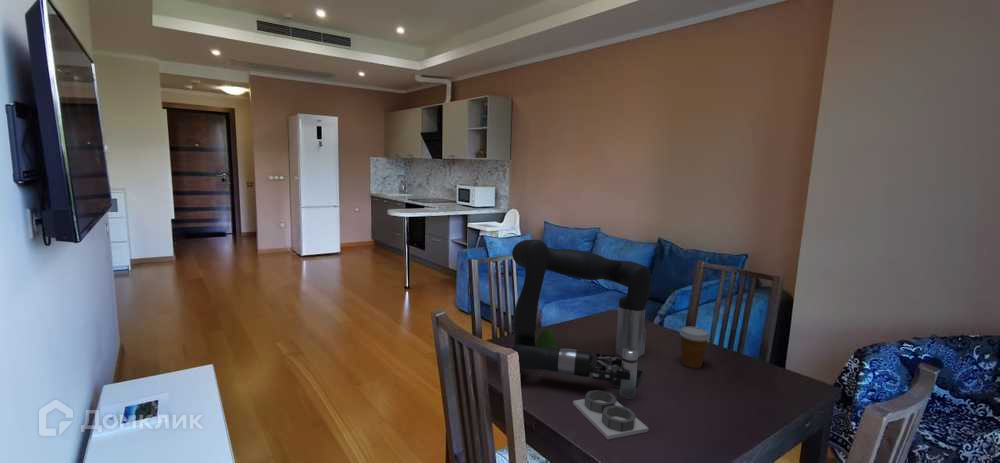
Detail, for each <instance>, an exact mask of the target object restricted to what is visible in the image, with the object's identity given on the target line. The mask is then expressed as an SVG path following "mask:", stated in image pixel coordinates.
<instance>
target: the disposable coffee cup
mask: <svg viewBox="0 0 1000 463" xmlns="http://www.w3.org/2000/svg"><path fill="white" fill-rule="evenodd" d="M679 335H680V345H681V346H680V347H681V348H680V349H681V351H680V352H681V364H683V365H684V366H686V367H689V368H693V369H699V368H701V367H702V364H703V361H704V357H705V352H706V349H707V344H708V341H709V339H710V333H709V332H708V330H706V329H704V328H701V327H698V326H683V327H682V328H681V329H680V331H679Z"/></svg>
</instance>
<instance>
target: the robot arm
mask: <svg viewBox="0 0 1000 463" xmlns="http://www.w3.org/2000/svg"><path fill="white" fill-rule="evenodd" d="M511 254H512V258H513V261H514V262H515V264H516V265H518V266H519V267H520V268H523V269H525V271H524V272H525V274H524V275H525V276H524V277H525V278H524V281H523V285H522V289H521V292H520V293H519V296H518V298H517V301H516V305H515V308H514V313H513V314H514V317H513V326H512V328H513V333H514V342H513V346H512V347H511V348H510V349H513V350H515V351H517V352H518V354H519V362H520V368H519V369H522V370H523V369H525V370H545V371H548V372H549V371H550V372H557V373H558V372H559V373H561V374H566V375H571V376H579V377H585V378H589V377H590V375H591V374H592V376H591V379H593V380H598V381H605V382H608V383H609V382H613V380H614V379H616V378H617V379H624V380H630V372H627V371H620V370H618V369H617V370H616V369H614V367H619V368H620V367H622V358H618V357H617V355H619V356H621V357H622V354H623V348H634V349H637V350H638V358H640V357H642V356H644V355H645V349H646V348H645V347H646V337H647V336H646V335H647V329H646V328H645V320H646V319H645V316H646V306H647V303H648V301H649V298H650V291H651V290H650V289H651V283H652V282H651V281H652V274H651V270H650V268H649V267H648V266H646V265H645V264H641V263H638V262H634V261H630V260H617V259H610V258H607V257H604V256H603V255H599V254H596V253H593V252H588V251H586V250H585V251H583V250H579V249H571V248H570V249H568V248H567V249H566V248H554V247H548V245H547V244H546V243H545V242H544V241H543V240H541V239H524V240H520V241H519V242H517V243H516V244H515V245H514V246H513V249H512V251H511ZM546 271H552V272H555V273H558V274H561V275H565V276H567V277H573V278H577V279H581V280H585V281H586V280H588V281H598V280H607V281H611V282H613V283H616V284H619V285H621V286H624V287H626V288H627V294H626V295H624V296H621V297H620V298H619V299H618V309H617V310H618V312H617V326H616V340H615V353H616V354H617V355H616V354H614V353H613V354H612V353H606V352H605V353H603V352H596V353H595V356H592V351H590V350H583V349H574V348H560V347H558V348H554V347H543V348H538V347H535V344H536V328H537V318H538V308H539V307H538V306H539V302H540V301H539V300H540V296H541V292H542V286H543V283H544V279H545V275H546ZM612 367H613V368H612Z"/></svg>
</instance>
